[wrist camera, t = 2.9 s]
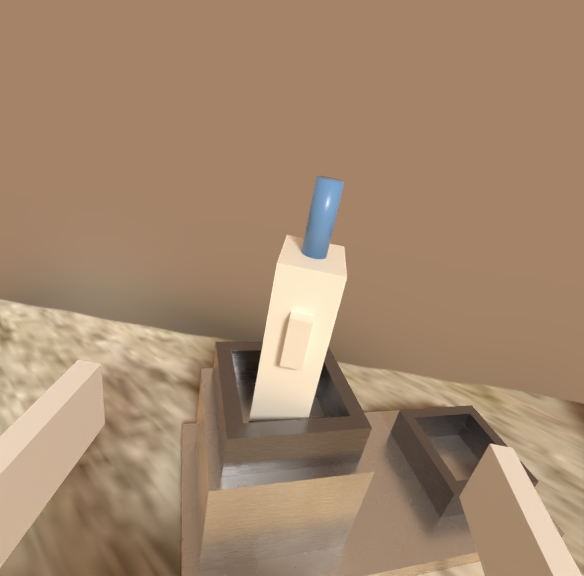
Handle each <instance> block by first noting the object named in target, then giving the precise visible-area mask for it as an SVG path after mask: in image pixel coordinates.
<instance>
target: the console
mask: <svg viewBox="0 0 584 576" xmlns="http://www.w3.org/2000/svg"><path fill="white" fill-rule="evenodd" d="M262 345H263V342H216V344H215V353H214V362H213V368H202V369H201V380H200V391H199V402H198V413H197V423H189V424H183V429H182V511H181V576H414V575H419V574H424V573H428V572H433V571H437V570H442V569H446V568H451V567H455V566H460V565H464V564H469V563H473V562H478V561H480V558H479V555H478V552H477V549H476V546H475V543H474V540H473V537H472V534H471V531H470V528H469V525H468V522H467V519H466V516H465V513H464V510H463V507H462V504H461V501H460V498H459V496H460V495H461V493H462V491H463V489H464V488H465V486H466V484H467V482H468V481H469V479H470V477H471V475H472V474H473V472H474V470H475V469H476V467H477V465H478V463H479V462H480V460H481V458H482V456H483V455H484V453H485V451H486V449H487V448H488V446H489V444H495V445H500V446H505V447H508V446H507V445H506V444H505V443H504V442H503V441H502V439H501V438H500V437H499V436H498V435H497V434H496V433H495V431H494V430H493V429H492V428H491V427H490V426H489V425H488V424H487V422H486V421H485V420H484V419H483V418H482V417H481V416H480V414H479V413H478V412H477V411H476V410H475V409H474V408H473V406H455V407H439V408H424V409H408V410H392V411H377V412H363V410H362V408H361V406H360V404H359V403H358V401H357V399H356V397H355V395H354V393H353V391H352V390H351V388H350V386H349V384H348V382H347V380H346V378H345V377H344V375H343V373H342V371H341V369H340V367H339V365H338V364H337V362H336V360H335V358H334V356H333V354H332V352H331V351H330V349H329V347H328V349H327V352H326V356H325V360H324V363H323V367H322V371H321V374H320V378H319V382H318V385H317V389H316V393H315V396H314V400H313V404H312V407H311V411H310V414H309V418H308V419H299V420H284V421H269V422H254V423H249V419H250V413H251V407H252V402H253V396H254V390H255V385H256V379H257V373H258V368H259V362H260V357H261V351H262ZM520 462H521V461H520ZM521 464H522V466H523V468H524V470H525V471H526V473H527V475H528V477H529V479H530V481H531V482H532V484H533V486H534V487H535V486H536V484H537V483H538V480H537V479H536V478H535V477H534V476H533V475H532V474H531V472H530V471H529V470H528V469H527V468H526V467H525V466H524V464H523V463H522V462H521ZM550 518H551V517H550ZM551 519H552V518H551ZM552 521H553V519H552ZM553 523H554V525H555V527H556V529H557V531H558V532H559V534H560V536H561V537H562V536H563V535H564V533H563V531H562V530H561V529H560V528H559V527H558V525H557V524H556V523H555V522H554V521H553Z"/></svg>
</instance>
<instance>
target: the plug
mask: <svg viewBox="0 0 584 576" xmlns="http://www.w3.org/2000/svg"><path fill="white" fill-rule="evenodd" d="M343 186H344V182H343V181H341V180H338V179H335V178H330V177H324V176H318V177H317V179H316V183H315V188H314V193H313V198H312V202H311V207H310V212H309V217H308V222H307V227H306V232H305V237H304V238H300V237H295V236H289V235H287V236H286V239H285V242H284V245H283V248H282V250H281V253H280V256H279V259H278V262H277V266H276V272H275V277H274V283H273V289H272V294H271V300H270V306H269V312H268V317H267V323H266V328H265V334H264V340H263V345H262V351H261V357H260V362H259V368H258V373H257V379H256V385H255V390H254V396H253V402H252V407H251V413H250V419H249V423H254V422H269V421H284V420H299V419H308V418H309V414H310V411H311V407H312V404H313V400H314V396H315V393H316V389H317V385H318V382H319V378H320V374H321V371H322V367H323V363H324V360H325V356H326V352H327V349H328V345H329V341H330V338H331V334H332V330H333V327H334V323H335V319H336V315H337V312H338V308H339V305H340V301H341V298H342V294H343V290H344V287H345V283H346V279H347V271H346V260H345V249H344V247H343V246H338V245H333V244H330V240H331V236H332V232H333V228H334V224H335V220H336V215H337V211H338V207H339V203H340V199H341V195H342V190H343Z"/></svg>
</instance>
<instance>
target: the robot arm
mask: <svg viewBox="0 0 584 576" xmlns="http://www.w3.org/2000/svg"><path fill="white" fill-rule="evenodd" d="M104 425H105V417H104V401H103V386H102V370H101V364H98V363H93V362H88V361H84V360H78V361H77V362H76V363H75V364H74V365H73V366H72V367H71V368H69V369H68V370H67V371H66V372H65V373H64V374H63V375H62V376H61V377H60V378H59V379H58V380H57V381H56V382H55V383H54V384H53V385H52V386H51V387H50V388H49V389H48V390H47V391H46V392H45V393H44V394H43V395H42V396H41V397H40V398H39V399H38V400H37V401H36V402H35V403H34V404H33V405H32V406H31V407H30V408H29V409H28V410H27V411H26V412H24V413H23V414H22V415H21V416H20V417H19V418H18V419H17V420H16V421H15V422H14V423H13V424H12V425H11V426H10V427H9V428H8V429H7V430H6V431H5V432H4V433H3V434H2V435H1V436H0V568H1V566H2V565H3V564H4V562H5V561H6V560H7V558H8V557H9V555H10V554H11V553H12V551H13V550H14V549H15V547H16V546H17V544H18V543H19V542H20V540H21V539H22V538H23V536H24V535H25V533H26V532H27V531H28V529H29V528H30V527H31V525H32V524H33V522H34V521H35V520H36V518H37V517H38V516H39V514H40V513H41V511H42V510H43V509H44V507H45V506H46V505H47V503H48V502H49V500H50V499H51V498H52V496H53V495H54V494H55V492H56V491H57V489H58V488H59V487H60V485H61V484H62V483H63V481H64V480H65V478H66V477H67V476H68V474H69V473H70V471H71V470H72V469H73V467H74V466H75V465H76V463H77V462H78V460H79V459H80V458H81V456H82V455H83V454H84V452H85V451H86V449H87V448H88V447H89V445H90V444H91V443H92V441H93V440H94V438H95V437H96V436H97V434H98V433H99V432H100V430H101V429H102V427H103V426H104ZM459 498H460V501H461V504H462V507H463V510H464V513H465V516H466V519H467V522H468V525H469V528H470V531H471V534H472V537H473V540H474V543H475V546H476V549H477V552H478V555H479V558H480V561H481V564H482V567H483V570H484V573H485V576H582V575H581V573H580V571H579V569H578V567H577V566H576V564H575V562H574V560H573V558H572V556H571V555H570V553H569V551H568V549H567V547H566V545H565V543H564V542H563V540H562V538H561V536H560V534H559V532H558V531H557V529H556V527H555V525H554V523H553V521H552V519H551V518H550V516H549V514H548V512H547V510H546V508H545V506H544V505H543V503H542V501H541V499H540V497H539V495H538V494H537V492H536V490H535V488H534V486H533V484H532V482H531V481H530V479H529V477H528V475H527V473H526V471H525V470H524V468H523V466H522V464H521V462H520V460H519V458H518V457H517V455H516V453H515V451H514V449H513V448H510V447H505V446H500V445H495V444H489V446H488V448H487V449H486V451H485V453H484V455H483V456H482V458H481V460H480V462H479V463H478V465H477V467H476V469H475V470H474V472H473V474H472V475H471V477H470V479H469V481H468V482H467V484H466V486H465V488H464V489H463V491H462V493H461V495H460V496H459Z"/></svg>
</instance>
